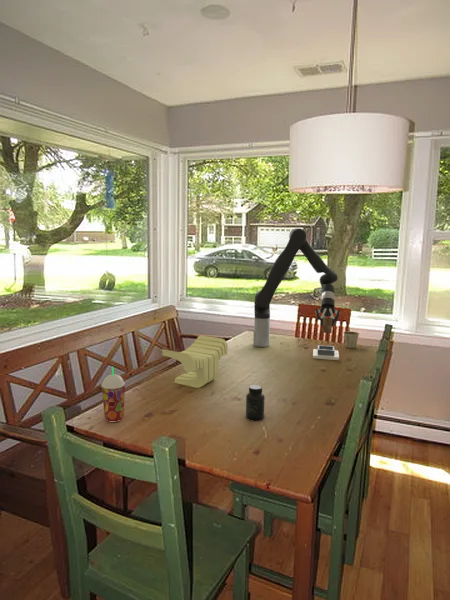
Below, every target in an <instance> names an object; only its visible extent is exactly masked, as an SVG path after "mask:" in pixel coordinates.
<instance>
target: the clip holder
mask: <svg viewBox="0 0 450 600" xmlns="http://www.w3.org/2000/svg"><path fill="white" fill-rule="evenodd" d="M312 359H319V360H329V361H330V360H332V361H333V360H334V361H340V354H339V350H336V349H335V346H333V345H317V348H313V349H312Z"/></svg>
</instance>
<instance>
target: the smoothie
mask: <svg viewBox="0 0 450 600" xmlns="http://www.w3.org/2000/svg"><path fill="white" fill-rule="evenodd" d="M114 370H115V368H114V366H111V374H108V375H107V376H106V377H105V378H104V379H103V381H102V383H101V384H100V386H101V392H102V402H103V412H104V418H105V420H108V421H118V420H121V419H122V420H123V418H124V415H125V393H126V382H125V380H124V379H123V377H122V376H121V375H119V374H116V373H115V371H114ZM122 420H121V421H122ZM108 421H107V422H108Z"/></svg>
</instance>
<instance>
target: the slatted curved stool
mask: <svg viewBox="0 0 450 600" xmlns="http://www.w3.org/2000/svg"><path fill="white" fill-rule="evenodd" d="M228 349H229V348H228V343H227V341H226V340H225V339H224V338H222V337H221V338H220V337H215V336H214V337H213V336H208V335H207V336H206V335H203V334H202V335H201V334H199V335H198V336H197V337H196V339H195V340H194V341H193V342H192V344H191V345H190V346H189V347H187V348H186V349H185V350H183V351H175V350H168V349H162V351H161V352H162V356H163V357H167V358H170V359H174V360H176V361H178V362H179V363H181V364H182V366H183V369H184V371H186V372H185V373H183V374H181V375H179V376H176V377H175V379H174V382H173V383H174V384H179V385H183V386H188V387H192V388H195V389H196V388H197V389H199V388H201V387H203V386H205V385H207V384H208V383H210V382H211V381H214V380H215V379H217V376H218V370H219V362H220V360H221V359H222V357H223V356H225V355H229V354H228V351H229V350H228Z"/></svg>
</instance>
